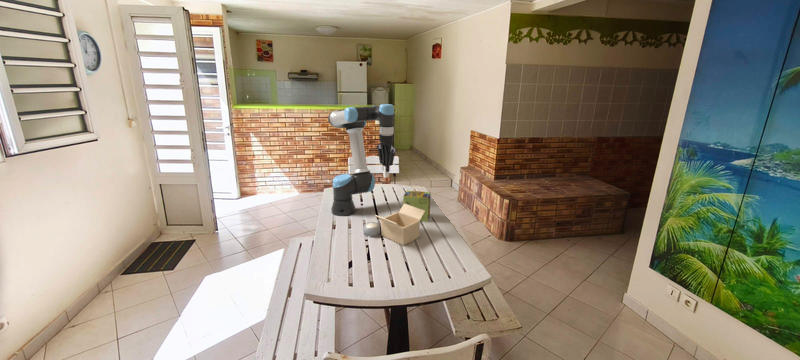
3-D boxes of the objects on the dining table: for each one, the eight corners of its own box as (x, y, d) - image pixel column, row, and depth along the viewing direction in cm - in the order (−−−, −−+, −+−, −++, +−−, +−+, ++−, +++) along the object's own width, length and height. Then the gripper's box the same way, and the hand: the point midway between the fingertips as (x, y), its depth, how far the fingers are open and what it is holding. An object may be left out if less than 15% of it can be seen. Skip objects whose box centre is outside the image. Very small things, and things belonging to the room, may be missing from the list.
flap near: (381, 219, 183) (380, 220, 182) (375, 214, 178) (374, 215, 178) (402, 228, 173) (402, 228, 173) (396, 223, 169) (396, 223, 168)
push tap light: (360, 233, 189) (360, 225, 187) (372, 228, 195) (372, 220, 194) (371, 238, 183) (371, 230, 181) (383, 233, 189) (383, 225, 188)
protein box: (428, 222, 204) (428, 197, 199) (402, 219, 207) (403, 195, 202) (430, 215, 214) (431, 192, 209) (405, 213, 217) (406, 190, 212)
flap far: (419, 219, 183) (420, 220, 183) (425, 210, 185) (425, 211, 185) (398, 212, 192) (399, 212, 193) (404, 203, 194) (404, 203, 195)
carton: (380, 235, 186) (380, 218, 183) (396, 228, 196) (397, 211, 193) (404, 246, 176) (404, 228, 173) (420, 237, 185) (420, 220, 182)
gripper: (372, 133, 181) (372, 175, 188) (390, 137, 172) (389, 181, 180) (383, 131, 186) (382, 172, 194) (400, 135, 178) (399, 178, 185)
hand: (386, 177), depth 187 cm, fingers closed
